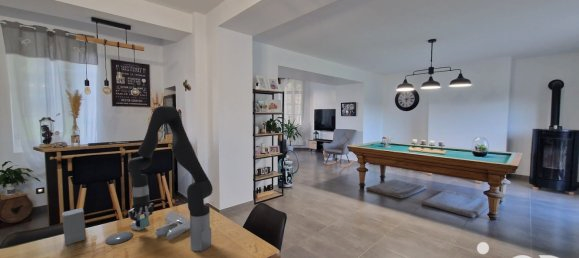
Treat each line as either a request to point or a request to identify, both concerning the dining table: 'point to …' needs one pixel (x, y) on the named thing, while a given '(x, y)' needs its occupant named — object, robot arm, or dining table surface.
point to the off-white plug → (135, 226)
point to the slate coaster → (119, 238)
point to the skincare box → (74, 226)
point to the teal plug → (144, 222)
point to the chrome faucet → (173, 226)
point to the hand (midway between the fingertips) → (142, 224)
